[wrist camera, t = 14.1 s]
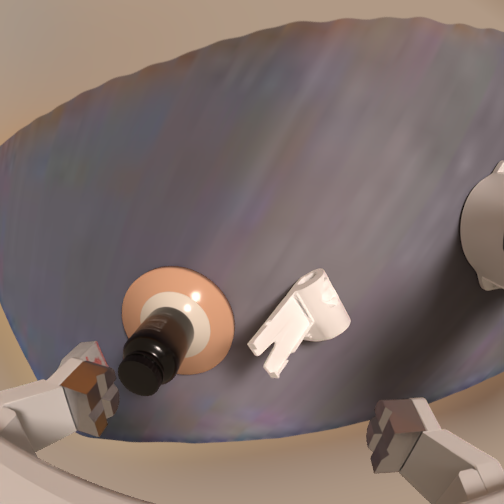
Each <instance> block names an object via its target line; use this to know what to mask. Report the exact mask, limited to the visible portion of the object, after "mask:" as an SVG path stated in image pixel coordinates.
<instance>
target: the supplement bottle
mask: <svg viewBox="0 0 504 504" xmlns="http://www.w3.org/2000/svg"><path fill="white" fill-rule="evenodd" d="M193 339H194V328H193V325H192V323H191V321H190V319H189V318H188V317H187V316H186V315H185V314H184V313H183V312H181V311H180V310H178V309H175V308H172V307H160V308H157V309H155V310H154V311H153V312H151V313H150V315H149V316H148V317H147V318H146V319H145V320H144V321H143V323H142V324H141V325H140V326H139V327H138V328H137V330H136V331H135V332H134V333H133V334H132V335H131V337H130V338H129V339H128V340H127V342H126V343H125V345H124V348H123V361H122V363H121V364H120V365H119V368H118V376H119V379H120V380H121V382H122V383H123V385H124V386H125V387H126V388H127V389H128V390H129V391H132V392H133V393H135V394H137V395H141V396H149V395H152V394H154V393H155V392H157V390H158V389H159V387H160V386H161V385H162V384H166V383H168V382H170V381H171V380H172V379H173V378H174V377H175V376H176V374H177V372H178V370H179V368H180V366H181V364H182V362H183V360H184V358H185V356H186V354H187V352H188V350H189V348H190V346H191V344H192V341H193Z"/></svg>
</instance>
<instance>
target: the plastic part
mask: <svg viewBox="0 0 504 504" xmlns="http://www.w3.org/2000/svg"><path fill="white" fill-rule="evenodd" d="M350 322H351V320H350V317H349V316H348V314H347V312H346V310H345V308H344V306H343V304H342V302H341V301H340V299H339V297H338V295H337V293H336V291H335V289H334V288H333V286H332V284H331V282H330V280H329V278H328V276H327V275H326V273H325V271H324V269H316V270H313V271H312V272H310V273H308V274H306V275H304V276H302V277H301V278H300V279H299V280H298V281H297V282H296V283H295V284H294V285H293V287H292V288H291V289H290V291H289V292H288V293H287V295H286V296H285V297H284V299H283V300H282V301H281V302H280V304H279V305H278V306H277V307H276V309H275V310H274V311H273V312H272V314H271V315H270V316H269V318H268V319H267V320H266V321H265V323H264V324H263V325H262V326H261V328H260V329H259V330H258V331H257V332H256V334H255V335H254V336H253V337H252V339H251V340H250V341H249V342H248V344H247V345H248V346H249V348H250V349H251V351H252V352H253V353H254V355H255V356H259V355H261V354H262V353H263V352H264V351H265V350H266V349H267V348H268V347H269V346H270V345H271V344H272V343H273V342H274V343H275V344H274V347H273V349H272V351H271V353H270V354H269V356H268V358H267V359H266V361H265V363H264V366H263V367H264V369H265V370H266V371H267V372H268V374H269V375H270V376H271V378H279V374H280V373H281V371H282V370H283V368H284V367H285V366H286V364H287V363H288V360H286V359H287V358H288V356H289V355H290V353H294V352H295V351H296V349H297V348H298V346H299V345H300V343H301V342H302V340H308V341H315V342H317V341H323V340H328V339H331V338H334V337H336V336H338V335H339V334H341V333H342V332H344V331H345V330H346V329H347V328H348V327H349V325H350Z"/></svg>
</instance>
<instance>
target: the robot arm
mask: <svg viewBox="0 0 504 504" xmlns="http://www.w3.org/2000/svg"><path fill="white" fill-rule="evenodd" d="M460 235H461V243H462V248H463V251H464V254H465V256H466V258H467V260H468V262H469V263H470V265H471V266H472V267H473V268H474V269H475V271H476V273H477V276H478V280H479V284H480V286H481V288H482V289H484V290H486V291H489V290H494V289H499V288H503V289H504V161H503V160H502V161H500V162H499V163H498V164H497V166H496V167H495V169H494V171H493V172H492V174H491V175H489V176H488V177H486V178H484V179H483V180H481V181H480V182H479V183H478V184H477V185H476V186H475V187H474V188H473V190H472V191H471V193H470V194H469V196H468V198H467V200H466V203H465V205H464V209H463V212H462V217H461V226H460ZM115 380H116V375H115V370H113V369H112V368H110V367H107V366H103V365H100V364H97V363H93V362H90V361H86V360H83V359H80V358H77V357H71V358H70V359H69V360H68V361H67V362H66V363H65V364H64V365H63V366H61V367H60V368H59V369H58V370H57V371H56V372H55V373H54V374H53V375H52V376H51V377H50V378H49V379H48V380H47V381H46V380H39V381H36V382H32V383H29V384H25V385H21V386H18V387H14V388H11V389H6V390H3V391H0V504H154V503H151V502H147V501H144V500H140V499H137V498H134V497H131V496H128V495H124V494H122V493H119V492H116V491H113V490H110V489H107V488H104V487H102V486H99V485H97V484H94V483H92V482H89V481H87V480H84V479H82V478H80V477H77V476H75V475H73V474H70V473H68V472H66V471H64V470H62V469H59V468H57V467H55V466H53V465H51V464H49V463H47V462H45V461H43V460H41V459H39V458H38V457H37V455H36V453H35V452H37V451H38V450H41V449H43V448H45V447H47V446H48V445H51V444H53V443H55V442H57V441H58V440H60V439H62V438H64V437H66V436H68V435H70V434H72V433H74V432H76V431H77V430H79V431H82V432H85V433H88V434H91V435H94V436H97V437H100V435H101V434H102V432H103V431H104V429H105V428H106V426H107V425H108V423H107V418H109V417H112V416H114V414H115V413H116V411H117V409H118V405H119V390H118V388H117V387H116V386H115V385H114V381H115ZM374 410H375V414H376V416H375V417H374V418H372V419H371V420H370V422H369V425H368V428H367V435H366V437H367V445H368V448H369V449H370V450H371V451H373V454H372V456H371V462H372V466H373V470H374V473H390V472H399V473H400V474H401V475H402V476H403V477H404V478H405V479H406V480H407V481H408V482H409V483H410V484H411V485H412V486H413V487H414V488H415V489H416V490H417V491H418V492H419V493H420V494H421V495H422V496H424V498H426V499H427V500H428V501H429V502H430V503H431V504H504V471H503V469H502V467H501V465H500V463H499V462H498V460H496V459H495V458H493V457H491V456H489V455H488V454H486V453H485V452H483V451H481V450H480V449H478V448H476V447H475V446H473V445H471V444H469V443H468V442H466V441H464V440H463V439H461V438H460V437H458V436H456V435H455V434H453V433H451V432H450V431H448V430H446V429H441V427H440V425H439V423H438V421H437V420H436V418H435V416H434V414H433V412H432V410H431V408H430V407H429V405H428V403H427V401H426V399H425V398H423V397H419V398H409V399H393V400H379V401H378V402H377V404H376V407H375V409H374Z"/></svg>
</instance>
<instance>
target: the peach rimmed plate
mask: <svg viewBox="0 0 504 504" xmlns="http://www.w3.org/2000/svg"><path fill="white" fill-rule="evenodd" d="M160 307H172V308H175V309H178V310H180V311H181V312H183V313H184V314H185V315H186V316H187V317H188V318H189V319H190V321H191V323H192V325H193V328H194V339H193V341H192V344H191V346H190V348H189V350H188V352H187V354H186V356H185V358H184V360H183V362H182V364H181V366H180V368H179V370H178V372H177V374H198V373H202V372H205V371H208V370H210V369H212V368H213V367H215V366H216V365H218V364H219V363H220V362H221V361H222V360H223V359H224V358H225V356H226V355H227V353H228V351H229V349H230V347H231V344H232V340H233V337H234V331H235V321H234V315H233V312H232V308H231V306H230V304H229V302H228V300H227V298H226V297H225V295H224V294H223V292H222V291H221V290H220V289H219V287H218V286H216V285H215V284H214V283H213V282H212V281H211V280H210V279H208V278H207V277H205V276H204V275H202V274H200V273H198V272H196V271H194V270H191V269H188V268H185V267H179V266H163V267H159V268H155V269H153V270H150V271H148V272H147V273H145V274H143V275H142V276H141V277H139V278H138V279H137V280H136V281H135V282H134V283H133V284H132V285H131V286H130V288H129V289H128V291H127V293H126V295H125V297H124V301H123V305H122V319H123V325H124V328H125V331H126V334H127V336H128V338H130V337H131V335H132V334H133V333H134V332H135V331H136V330H137V328H138V327H139V326H140V325H141V324H142V323H143V321H144V320H145V319H146V318H147V317H148V316H149V315H150V313H151V312H153V311H154V310H155V309H157V308H160Z"/></svg>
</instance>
